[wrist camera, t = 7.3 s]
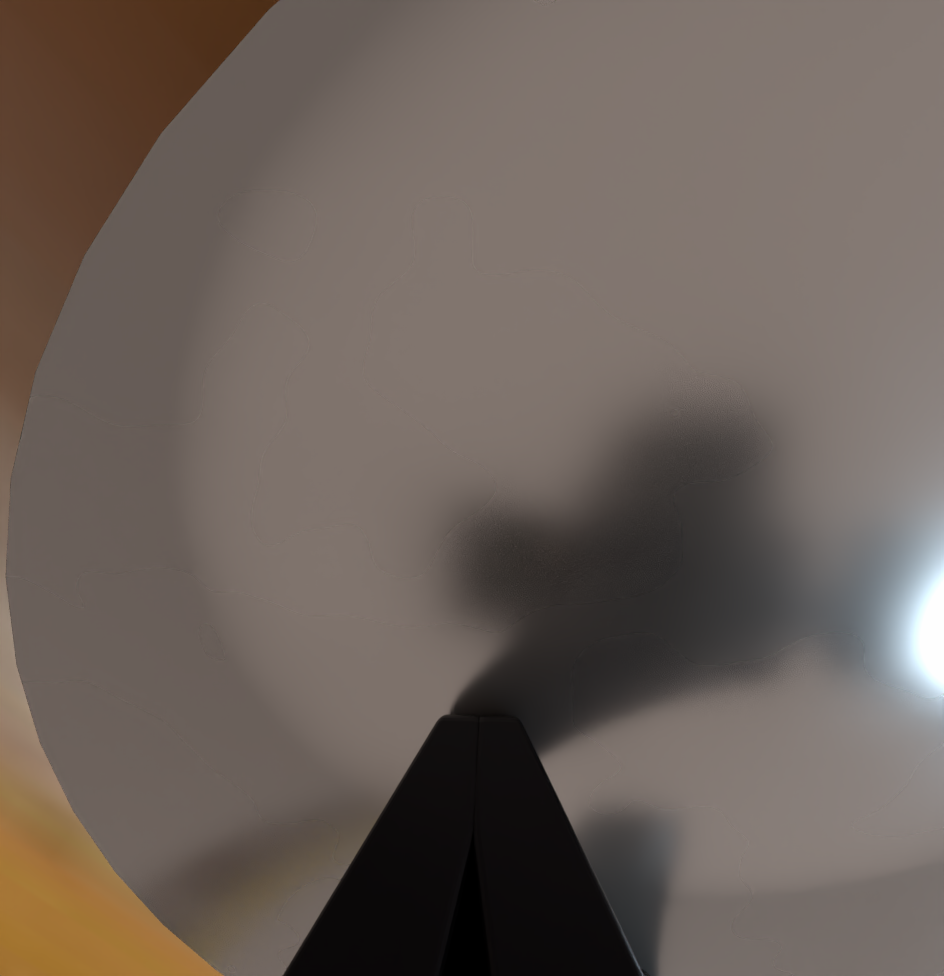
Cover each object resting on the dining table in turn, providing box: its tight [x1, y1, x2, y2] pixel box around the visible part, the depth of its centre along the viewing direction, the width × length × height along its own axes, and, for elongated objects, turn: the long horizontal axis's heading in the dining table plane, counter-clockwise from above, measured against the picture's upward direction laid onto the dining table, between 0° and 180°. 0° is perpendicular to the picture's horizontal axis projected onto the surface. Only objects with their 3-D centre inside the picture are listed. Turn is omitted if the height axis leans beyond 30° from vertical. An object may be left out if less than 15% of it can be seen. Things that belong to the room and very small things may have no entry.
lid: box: [6, 0, 944, 976], centre depth 9 cm, size 17×16×3 cm
